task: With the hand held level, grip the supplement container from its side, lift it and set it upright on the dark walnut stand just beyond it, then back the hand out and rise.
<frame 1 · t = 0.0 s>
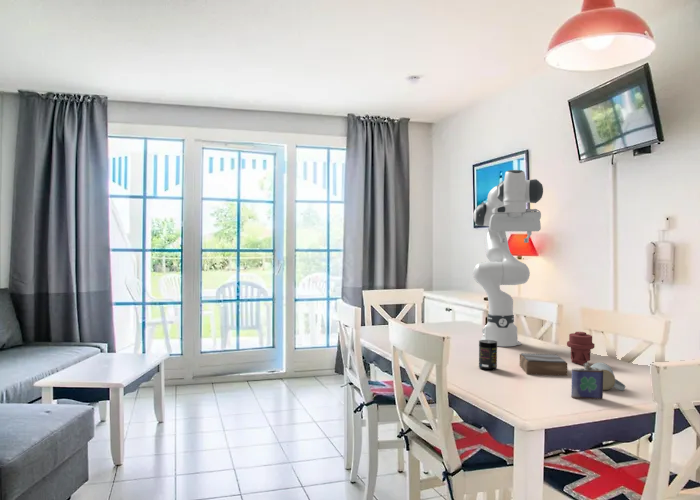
hand: (514, 242, 207), 48 cm above the table, tool pointing down, fingers open, 8 cm apart
supplement container: (487, 369, 191), on the table
mechanical component: (580, 363, 200), on the table
ceramic mug: (606, 388, 166), on the table
flask: (586, 398, 155), on the table
walnut stand: (542, 370, 189), on the table
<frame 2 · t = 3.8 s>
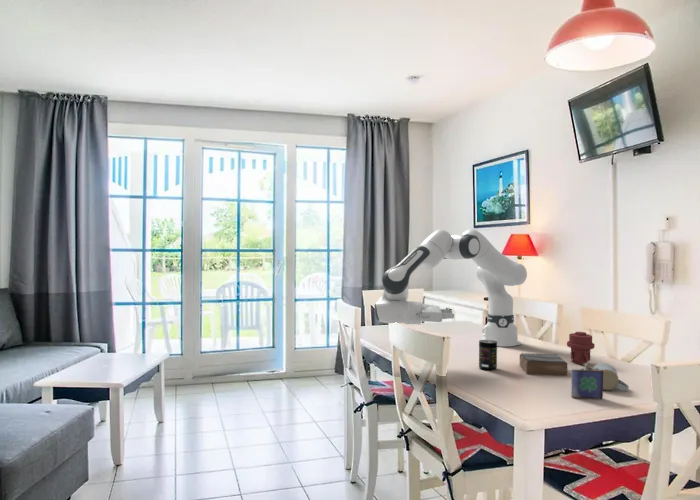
hand: (452, 314, 193), 20 cm above the table, tool horizontal, fingers open, 8 cm apart
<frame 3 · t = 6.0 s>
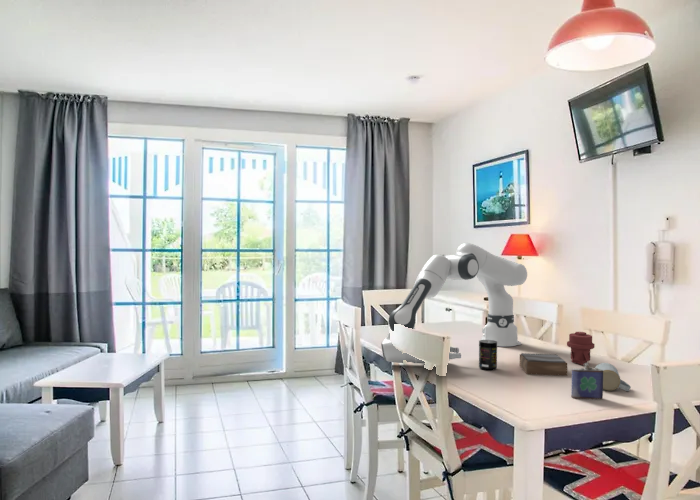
hand: (459, 352, 193), 6 cm above the table, tool horizontal, fingers open, 8 cm apart
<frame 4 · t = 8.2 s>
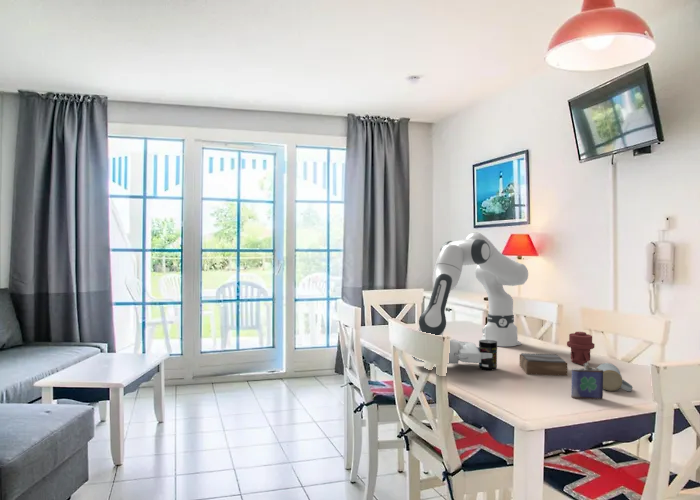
hand: (490, 352, 191), 6 cm above the table, tool horizontal, fingers closed on supplement container, 7 cm apart
supplement container: (487, 369, 191), on the table, touching gripper
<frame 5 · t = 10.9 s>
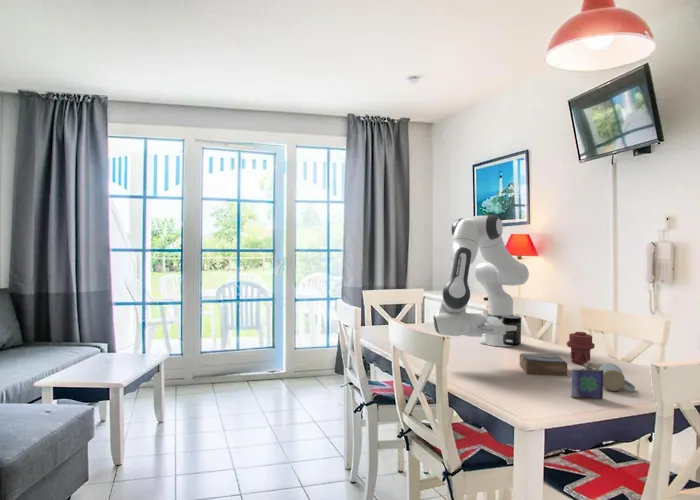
hand: (514, 325, 190), 16 cm above the table, tool horizontal, fingers closed on supplement container, 7 cm apart
supplement container: (511, 344, 190), point 9 cm above the table, touching gripper
when the fingers open (13 cm above the table, at t = 13.4 s): supplement container stays where it is, resting on walnut stand.
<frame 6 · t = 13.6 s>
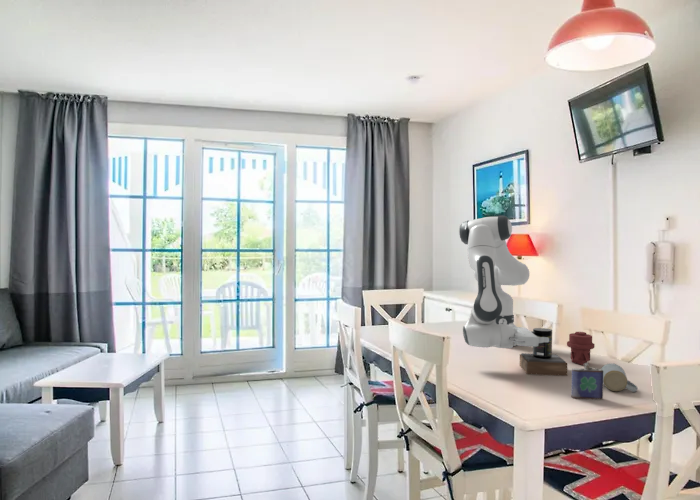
hand: (545, 337, 188), 13 cm above the table, tool horizontal, fingers open, 8 cm apart
supplement container: (542, 357, 189), point 5 cm above the table, touching walnut stand
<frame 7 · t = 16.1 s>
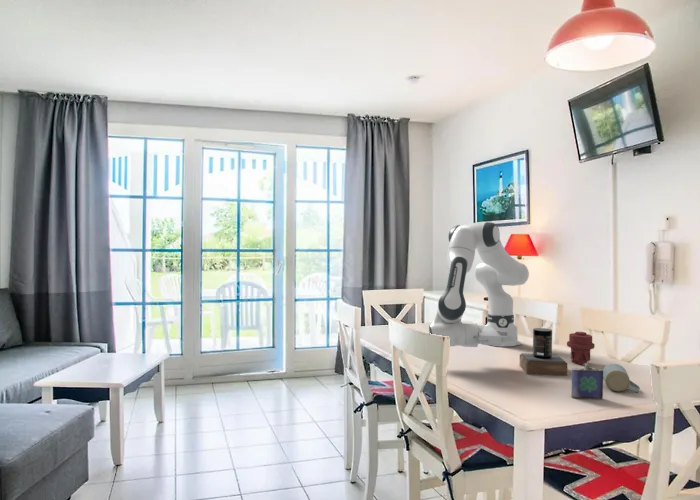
hand: (509, 336, 190), 13 cm above the table, tool horizontal, fingers open, 8 cm apart
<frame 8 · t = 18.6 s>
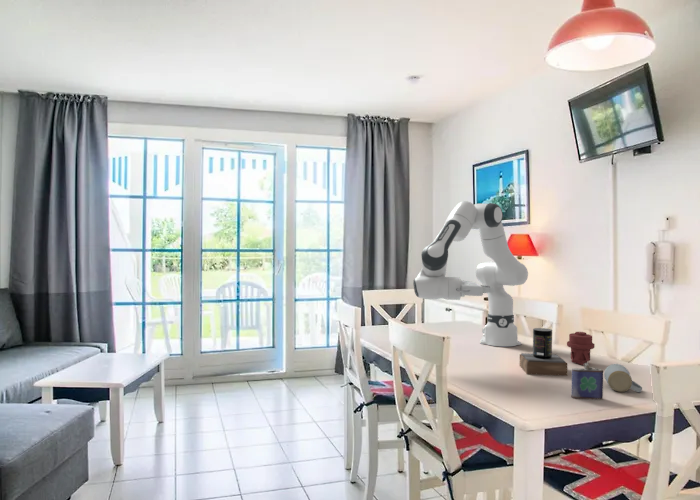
hand: (491, 288, 195), 30 cm above the table, tool horizontal, fingers open, 8 cm apart
at the end: supplement container inside the target area on the walnut stand (0.1 cm from its centre), point 4.8 cm above the walnut stand's base; supplement container tilted 0°; the gripper is holding nothing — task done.
